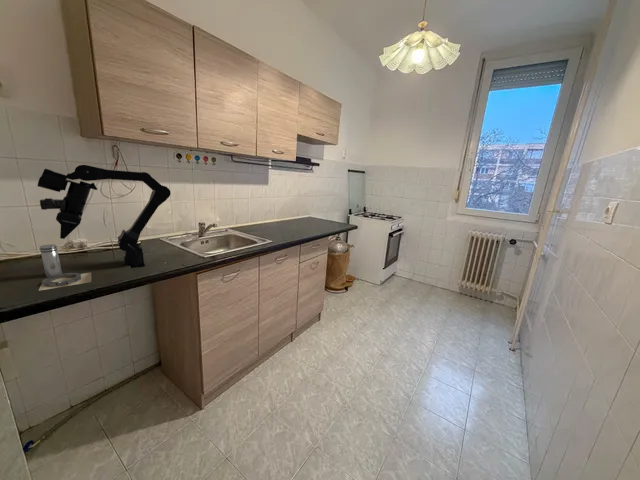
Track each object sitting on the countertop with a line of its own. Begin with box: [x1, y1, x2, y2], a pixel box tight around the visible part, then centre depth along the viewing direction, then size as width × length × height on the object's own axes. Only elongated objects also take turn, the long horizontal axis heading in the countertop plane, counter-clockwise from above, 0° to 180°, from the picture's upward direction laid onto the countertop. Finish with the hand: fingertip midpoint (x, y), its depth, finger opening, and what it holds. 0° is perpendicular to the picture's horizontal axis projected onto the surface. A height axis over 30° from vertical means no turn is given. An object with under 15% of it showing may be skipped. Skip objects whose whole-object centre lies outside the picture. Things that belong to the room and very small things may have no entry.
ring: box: [42, 272, 82, 287], centre depth 91 cm, size 9×9×1 cm
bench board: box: [38, 272, 92, 292], centre depth 91 cm, size 13×11×1 cm
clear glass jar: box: [39, 243, 63, 278], centre depth 94 cm, size 4×4×12 cm
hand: (63, 235), depth 95 cm, fingers open, 9 cm apart
